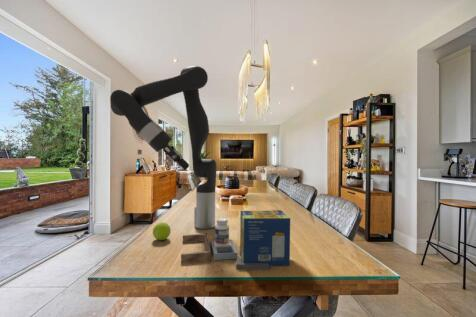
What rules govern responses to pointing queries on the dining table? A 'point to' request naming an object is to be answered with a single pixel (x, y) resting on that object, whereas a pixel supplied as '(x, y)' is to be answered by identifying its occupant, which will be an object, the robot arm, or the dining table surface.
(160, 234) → the tennis ball
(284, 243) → the protein box
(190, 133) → the robot arm
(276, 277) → the dining table surface
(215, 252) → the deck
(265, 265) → the grey flat block
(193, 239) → the frame
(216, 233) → the pill bottle
